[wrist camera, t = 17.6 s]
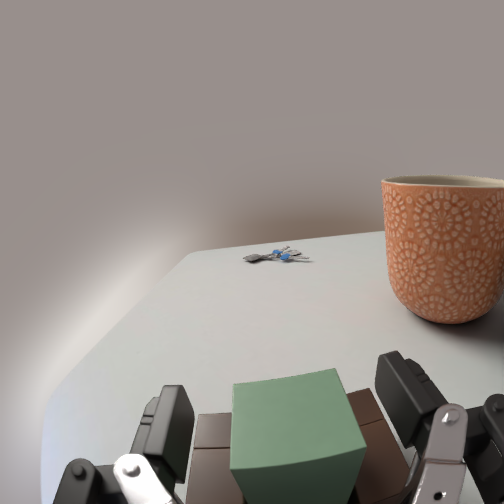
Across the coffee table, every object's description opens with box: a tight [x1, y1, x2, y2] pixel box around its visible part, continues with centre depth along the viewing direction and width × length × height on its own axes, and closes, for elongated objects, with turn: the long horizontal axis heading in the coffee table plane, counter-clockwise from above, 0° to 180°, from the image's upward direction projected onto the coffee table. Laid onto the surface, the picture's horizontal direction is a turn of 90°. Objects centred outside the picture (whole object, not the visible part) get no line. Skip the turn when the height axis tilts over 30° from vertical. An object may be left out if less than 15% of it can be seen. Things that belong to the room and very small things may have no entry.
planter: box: [381, 175, 504, 324], centre depth 26 cm, size 17×17×15 cm
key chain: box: [243, 246, 309, 261], centre depth 57 cm, size 14×8×1 cm, turn 70°
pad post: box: [230, 368, 367, 504], centre depth 9 cm, size 4×4×10 cm
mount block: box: [185, 388, 410, 504], centre depth 10 cm, size 11×11×4 cm
